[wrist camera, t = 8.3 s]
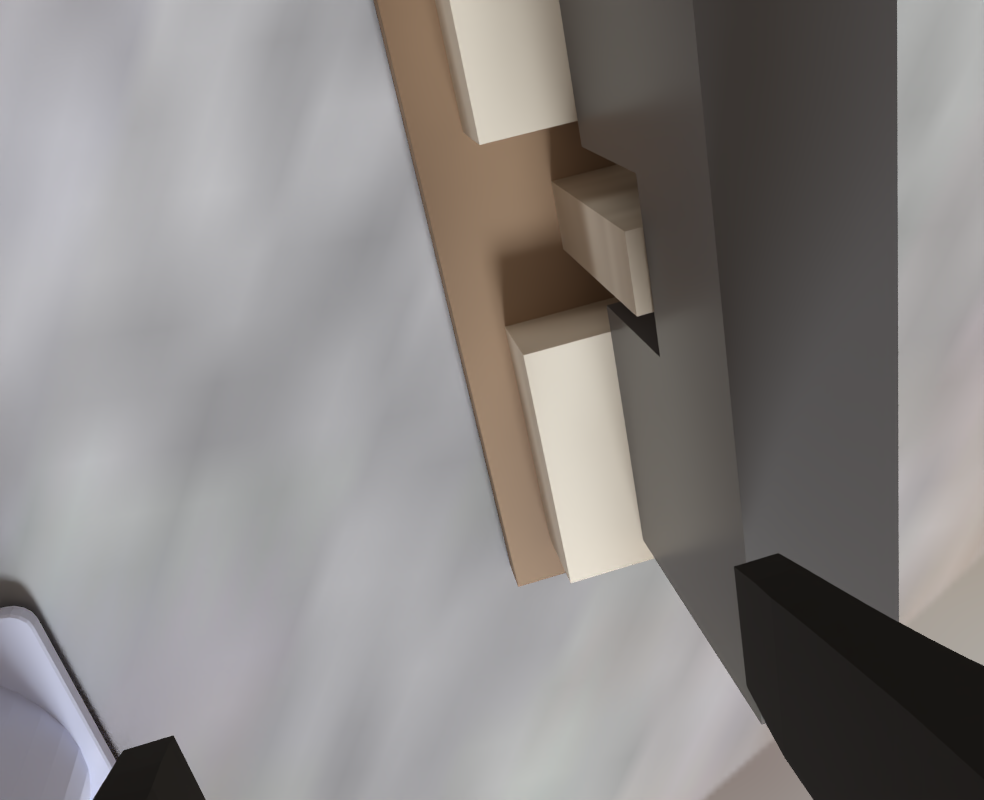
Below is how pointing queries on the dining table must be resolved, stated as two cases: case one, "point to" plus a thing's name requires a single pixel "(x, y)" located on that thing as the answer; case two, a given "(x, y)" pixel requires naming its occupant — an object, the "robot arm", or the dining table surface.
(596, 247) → the display stand
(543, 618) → the dining table surface
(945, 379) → the dining table surface
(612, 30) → the grey upright panel
